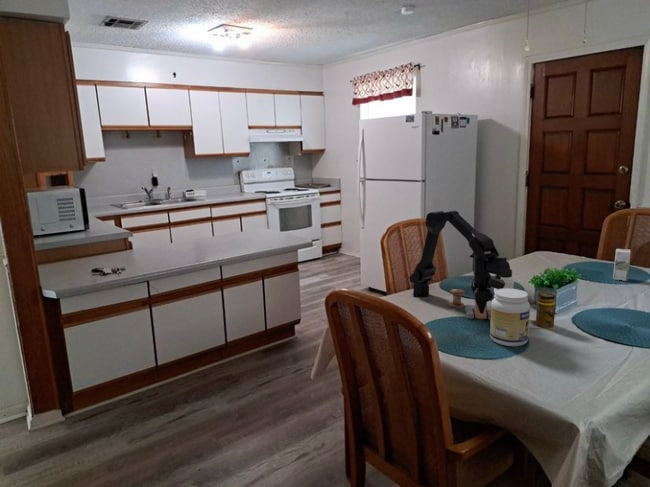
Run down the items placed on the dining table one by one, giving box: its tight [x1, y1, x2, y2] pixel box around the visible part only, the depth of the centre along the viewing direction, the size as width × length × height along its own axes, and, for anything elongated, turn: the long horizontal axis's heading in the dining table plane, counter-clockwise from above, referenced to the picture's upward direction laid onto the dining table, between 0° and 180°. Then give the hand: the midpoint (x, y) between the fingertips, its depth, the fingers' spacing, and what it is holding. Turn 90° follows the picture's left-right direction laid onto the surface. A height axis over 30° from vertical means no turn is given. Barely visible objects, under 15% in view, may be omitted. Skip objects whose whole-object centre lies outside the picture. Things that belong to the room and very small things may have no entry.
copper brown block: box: [473, 299, 488, 320], centre depth 175 cm, size 4×4×6 cm
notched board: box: [464, 304, 491, 321], centre depth 177 cm, size 10×10×2 cm
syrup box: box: [612, 248, 631, 282], centre depth 213 cm, size 6×6×14 cm
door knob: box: [448, 288, 466, 309], centre depth 187 cm, size 6×6×6 cm
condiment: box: [529, 292, 557, 331], centre depth 164 cm, size 7×8×12 cm
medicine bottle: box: [493, 268, 515, 294], centre depth 198 cm, size 7×7×12 cm
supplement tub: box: [489, 288, 531, 347], centre depth 152 cm, size 12×12×17 cm
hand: (480, 309), depth 175 cm, fingers open, 9 cm apart
